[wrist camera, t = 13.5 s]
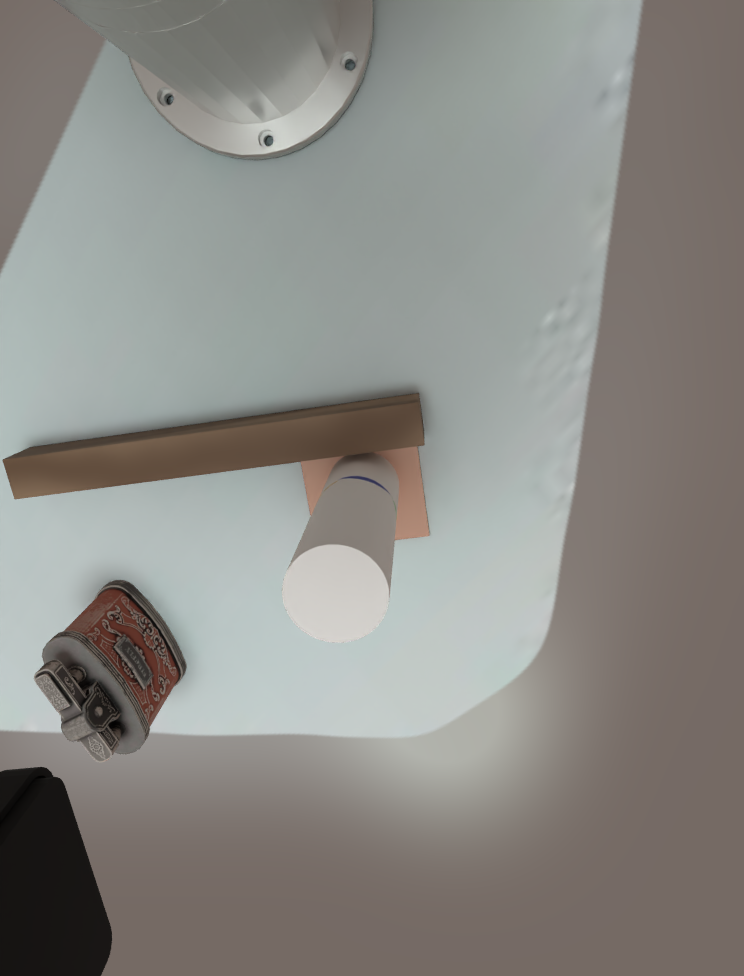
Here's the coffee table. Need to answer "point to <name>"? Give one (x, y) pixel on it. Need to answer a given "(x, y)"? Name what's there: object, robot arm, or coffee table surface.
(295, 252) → the coffee table surface
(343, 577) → the tube
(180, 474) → the walnut straightedge
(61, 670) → the lighter
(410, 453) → the end pad
